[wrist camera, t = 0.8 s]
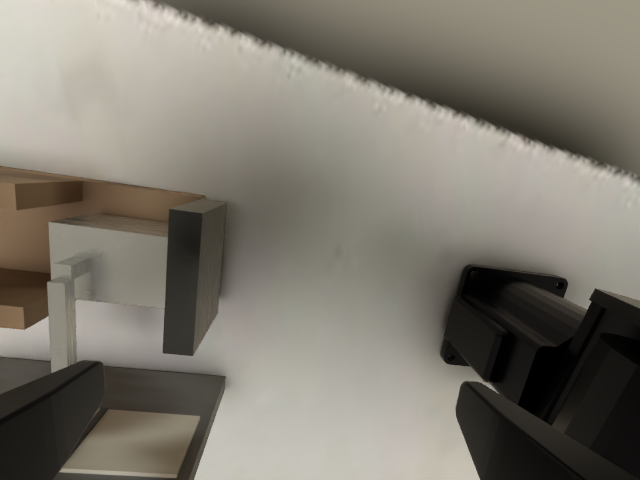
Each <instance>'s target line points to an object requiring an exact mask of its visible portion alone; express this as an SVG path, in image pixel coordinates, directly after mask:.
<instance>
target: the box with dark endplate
mask: <svg viewBox="0 0 640 480" xmlns="http://www.w3.org/2000/svg"><path fill="white" fill-rule="evenodd" d="M226 208H227V202H220V201H213V200H206V199H200V200H197V201H194V202H190V203H187V204H183V205H180V206H176V207H173V208H170V209H169V221H168V223H165V222H157V221H150V220H142V219H135V218H128V217H120V216H113V215H105V214H98V213H90V214H85V215H80V216H75V217H70V218H65V219H61V220H56V221H51V222H49V244H50V265H51V280H50V281H48V282H47V291H48V312H49V332H50V352H51V372H52V373H53V372H55V371H58V370H60V369H63V368H65V367H68V366H70V365H73V364H75V363H77V353H76V318H75V299H79V300H89V301H98V302H107V303H117V304H126V305H136V306H145V307H154V308H164V309H165V314H164V338H163V353H167V354H177V355H188V356H193V355H194V353H195V351H196V350H197V348H198V346H199V344H200V343H201V341H202V339H203V338H204V336H205V334H206V332H207V331H208V329H209V327H210V325H211V324H212V322H213V320H214V318H215V317H216V315H217V313H218V302H219V290H220V278H221V267H222V255H223V243H224V232H225V220H226Z"/></svg>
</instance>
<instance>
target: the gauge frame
mask: <svg viewBox="0 0 640 480" xmlns="http://www.w3.org/2000/svg"><path fill="white" fill-rule="evenodd" d="M204 198H205V196H203V195H196V194H189V193H182V192H175V191H168V190H162V189H155V188H148V187H141V186H134V185H127V184H120V183H113V182H106V181H99V180H92V179H85V178H79V177H72V176H65V175H58V174H51V173H44V172H37V171H30V170H23V169H16V168H9V167H2V166H0V327H2V328H13V329H23V330H25V329H27V328H28V327H30V326H32V325H34V324H35V323H37V322H39V321H41V320H42V319H44V318H46V317H47V316H49V312H48V291H47V282H48V281H50V280H51V265H50V244H49V222H51V221H56V220H61V219H65V218H70V217H75V216H80V215H85V214H90V213H98V214H105V215H113V216H120V217H128V218H135V219H142V220H150V221H157V222H165V223H168V221H169V209H170V208H173V207H176V206H180V205H183V204H187V203H190V202H194V201H197V200H200V199H204ZM75 300H77V299H75ZM51 373H52V372H51V362H49V361H37V360H26V359H14V358H2V357H0V394H2V393H4V392H7V391H9V390H12V389H14V388H16V387H19V386H21V385H24V384H26V383H29V382H31V381H33V380H36V379H38V378H41V377H43V376H46V375H48V374H51ZM104 374H105V388H106V392H105V396H104V399H103V401H102V403H101V405H100V406H99V408H98V410H97V411H96V413H95V415H94V416H93V418H92V420H91V421H90V423H89V424H88V426H87V428H86V429H85V431H84V433H83V434H82V436H81V437H80V439H79V441H78V442H77V444H76V446H75V447H74V449H73V451H72V452H71V454H70V455H69V457H68V459H67V460H66V462H65V463H64V465H63V466H62V468H61V470H60V471H59V472H58V474H57V475H56V477H55V478H54V480H194V477H195V474H196V471H197V469H198V466H199V463H200V460H201V457H202V454H203V451H204V448H205V445H206V442H207V439H208V436H209V433H210V431H211V428H212V425H213V422H214V419H215V416H216V413H217V410H218V407H219V404H220V401H221V398H222V395H223V393H224V388H225V377H223V376H212V375H200V374H188V373H177V372H165V371H153V370H142V369H130V368H119V367H107V366H104Z"/></svg>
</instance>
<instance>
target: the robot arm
mask: <svg viewBox="0 0 640 480" xmlns="http://www.w3.org/2000/svg"><path fill="white" fill-rule="evenodd" d="M473 271H475V274H474V275H473V276H471V273H472V272H473ZM557 283H558V285H557ZM556 285H557V286H556ZM567 286H568V282H567V280H566V279H564V278H561V277H559V276H555V275H547V274H540V273H532V272H525V271H517V270H510V269H502V268H495V267H488V266H480V265H468V266H467V267H466V268H464V271H463V274H462V277H461V281H460V285H459V288H458V292H457V296H456V298H455V299H454V301H453V305H452V309H451V313H450V316H449V320H448V324H447V327H446V331H445V340H444V343H443V347H442V351H441V357H442V359H443V360H444V362H445V363H447V364H450V365H460V366H471V367H472V368H473V369H474V371H475V372H476V373H477V374H478V375H479V376H480V377H481V379H482V380H483V381H484V382H488V383H490V384H491V385H492V386H493V387H494V389H495V390H496V391H497V392H498V393H499V394H498V393H496V392H495V391H493V390H492V389H490V388H488V387H487V386H485V385H483V384H482V383H479V382H469V381H465V382H463V383H462V384H461V387H460V391H459V396H458V400H457V404H456V417H457V420H458V423H459V425H460V428H461V431H462V433H463V436H464V439H465V441H466V444H467V446H468V449H469V452H470V454H471V457H472V460H473V462H474V465H475V468H476V470H477V473H478V475H479V478H480V480H640V301H638V300H635V299H632V298H628V297H625V296H621V295H618V294H614V293H611V292H607V291H604V290H600V289H597V288H595V290H594V292H593V293H592V295H591V297H590V299H589V300H590V301H592V302H591V304H590V306H589V308H588V310H586V309H584V308H582V307H580V306H578V305H576V304H574V303H572V302H570V301H568V300H566V299H564V295H565V292H566V289H567ZM450 354H452V355H451V356H450V357H448V355H450ZM105 392H106V388H105V374H104V365H103V363H102V362H100V361H89V360H84V361H80V362H77V363H75V364H73V365H70V366H68V367H65V368H63V369H60V370H58V371H55V372H53V373H51V374H48V375H46V376H43V377H41V378H38V379H36V380H33V381H31V382H29V383H26V384H24V385H21V386H19V387H16V388H14V389H12V390H9V391H7V392H4V393H2V394H0V480H54V478H55V477H56V475H57V474H58V472H59V471H60V470H61V468H62V466H63V465H64V463H65V462H66V460H67V459H68V457H69V455H70V454H71V452H72V451H73V449H74V447H75V446H76V444H77V442H78V441H79V439H80V437H81V436H82V434H83V433H84V431H85V429H86V428H87V426H88V424H89V423H90V421H91V420H92V418H93V416H94V415H95V413H96V411H97V410H98V408H99V406H100V405H101V403H102V401H103V399H104V396H105Z"/></svg>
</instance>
